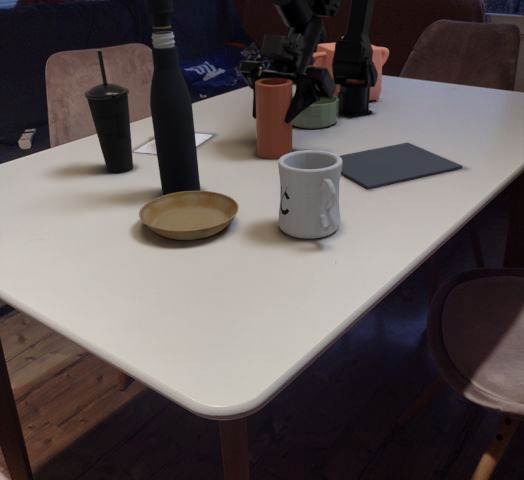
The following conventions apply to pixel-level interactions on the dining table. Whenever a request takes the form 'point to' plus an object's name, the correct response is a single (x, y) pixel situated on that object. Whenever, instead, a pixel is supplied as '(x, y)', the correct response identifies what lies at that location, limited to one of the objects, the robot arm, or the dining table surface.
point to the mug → (309, 193)
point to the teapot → (326, 56)
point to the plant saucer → (189, 214)
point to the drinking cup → (112, 122)
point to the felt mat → (393, 165)
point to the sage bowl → (318, 114)
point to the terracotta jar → (273, 117)
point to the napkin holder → (151, 145)
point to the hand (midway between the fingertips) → (269, 119)
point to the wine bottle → (171, 108)
